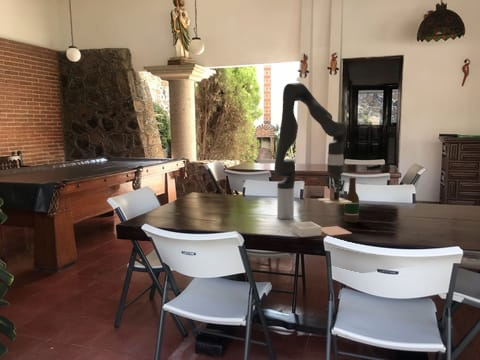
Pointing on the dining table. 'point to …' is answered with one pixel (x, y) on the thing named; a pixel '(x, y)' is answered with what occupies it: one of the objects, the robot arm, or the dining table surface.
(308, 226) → the beige square tray
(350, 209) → the beer bottle
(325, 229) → the mat
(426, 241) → the dining table surface
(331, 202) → the lid
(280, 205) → the robot arm
